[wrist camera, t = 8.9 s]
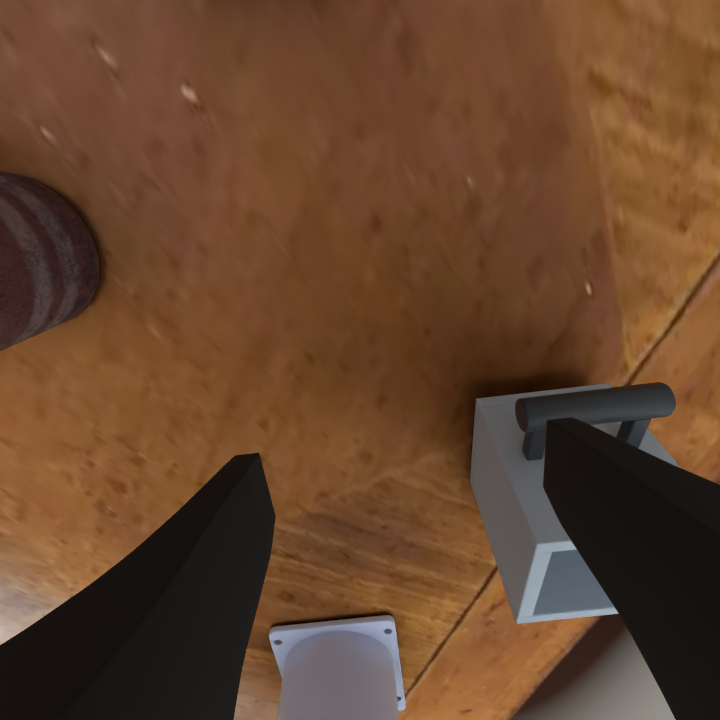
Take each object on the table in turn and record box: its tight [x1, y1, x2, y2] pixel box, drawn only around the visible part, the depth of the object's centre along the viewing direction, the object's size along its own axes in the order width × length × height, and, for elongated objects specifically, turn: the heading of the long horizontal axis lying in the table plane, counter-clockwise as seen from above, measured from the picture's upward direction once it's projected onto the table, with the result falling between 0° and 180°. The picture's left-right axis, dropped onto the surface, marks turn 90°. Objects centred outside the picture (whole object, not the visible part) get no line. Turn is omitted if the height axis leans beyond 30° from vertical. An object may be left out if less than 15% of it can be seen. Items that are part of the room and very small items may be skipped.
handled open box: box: [470, 382, 682, 624], centre depth 17 cm, size 7×6×9 cm
